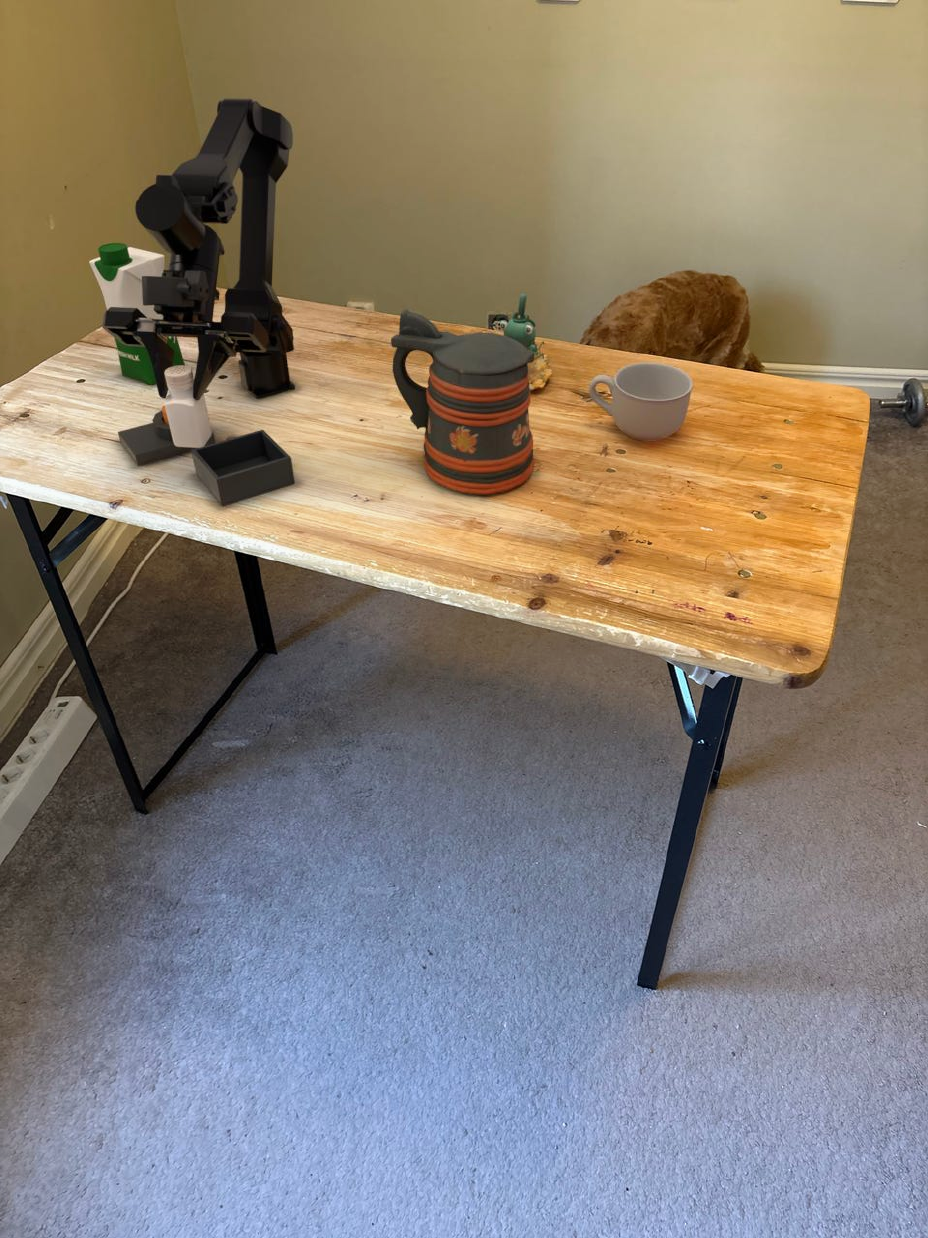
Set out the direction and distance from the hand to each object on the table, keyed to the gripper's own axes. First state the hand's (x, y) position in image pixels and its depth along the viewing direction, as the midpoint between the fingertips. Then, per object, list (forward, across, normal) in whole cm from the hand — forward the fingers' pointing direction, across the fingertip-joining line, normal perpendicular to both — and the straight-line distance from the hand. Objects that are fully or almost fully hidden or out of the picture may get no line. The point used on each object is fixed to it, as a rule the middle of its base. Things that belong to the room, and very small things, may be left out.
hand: (179, 398), depth 109 cm
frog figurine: (-17, +39, +36) cm, 55 cm away
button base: (+1, -9, +17) cm, 19 cm away
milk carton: (-14, -20, +33) cm, 41 cm away
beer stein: (+2, +33, +16) cm, 37 cm away
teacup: (-7, +56, +25) cm, 62 cm away
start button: (-2, -7, +16) cm, 17 cm away
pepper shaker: (+4, 0, +6) cm, 7 cm away
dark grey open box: (+7, +5, +11) cm, 14 cm away
